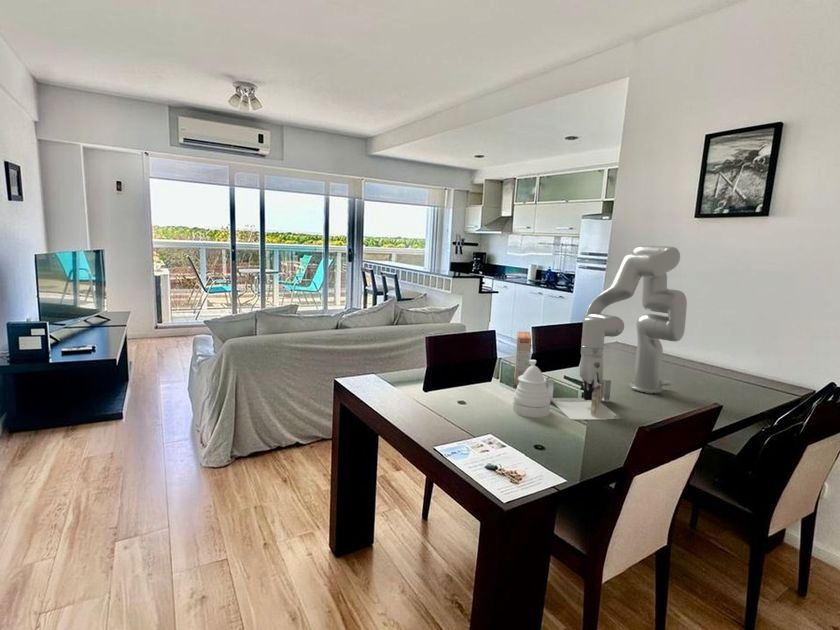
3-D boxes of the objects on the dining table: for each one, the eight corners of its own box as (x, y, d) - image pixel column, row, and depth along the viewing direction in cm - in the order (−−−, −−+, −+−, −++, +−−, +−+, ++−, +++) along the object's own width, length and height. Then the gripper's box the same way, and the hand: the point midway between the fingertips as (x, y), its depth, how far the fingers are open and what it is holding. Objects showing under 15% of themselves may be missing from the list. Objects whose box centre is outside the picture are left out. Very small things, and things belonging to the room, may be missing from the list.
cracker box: (528, 387, 190) (531, 338, 187) (514, 385, 191) (516, 337, 188) (527, 377, 203) (530, 331, 200) (514, 376, 205) (516, 330, 201)
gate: (598, 397, 176) (599, 379, 175) (602, 398, 175) (604, 379, 174) (590, 413, 159) (591, 393, 158) (594, 414, 158) (596, 394, 157)
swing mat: (599, 402, 173) (599, 401, 173) (621, 419, 156) (621, 419, 156) (553, 402, 172) (553, 401, 172) (570, 420, 155) (570, 419, 155)
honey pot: (510, 403, 170) (512, 356, 167) (544, 404, 170) (547, 357, 167) (516, 416, 157) (518, 366, 154) (553, 417, 157) (557, 367, 154)
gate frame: (607, 399, 177) (609, 378, 175) (610, 402, 174) (612, 380, 172) (543, 399, 175) (544, 377, 174) (546, 402, 172) (547, 380, 171)
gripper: (611, 356, 157) (607, 406, 160) (593, 346, 172) (589, 392, 175) (590, 356, 157) (586, 406, 160) (573, 346, 172) (570, 392, 175)
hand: (588, 399), depth 167 cm, fingers closed
